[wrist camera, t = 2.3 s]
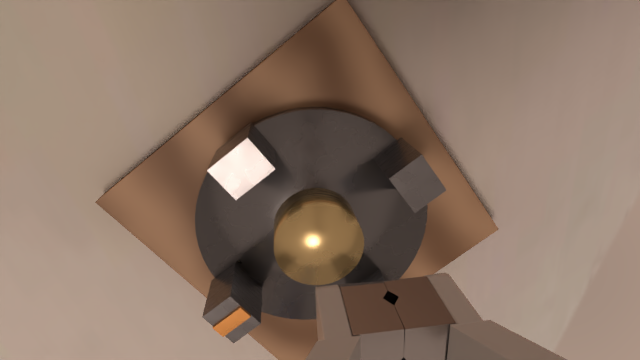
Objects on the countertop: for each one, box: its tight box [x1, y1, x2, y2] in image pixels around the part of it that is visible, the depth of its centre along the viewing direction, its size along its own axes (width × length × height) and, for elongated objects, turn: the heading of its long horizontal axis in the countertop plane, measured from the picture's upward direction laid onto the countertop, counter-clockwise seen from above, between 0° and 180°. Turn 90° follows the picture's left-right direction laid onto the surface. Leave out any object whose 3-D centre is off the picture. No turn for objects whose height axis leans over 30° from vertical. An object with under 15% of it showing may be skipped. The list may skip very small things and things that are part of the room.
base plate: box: [96, 0, 498, 360], centre depth 30 cm, size 22×22×2 cm
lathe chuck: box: [195, 107, 446, 343], centre depth 27 cm, size 17×17×5 cm
